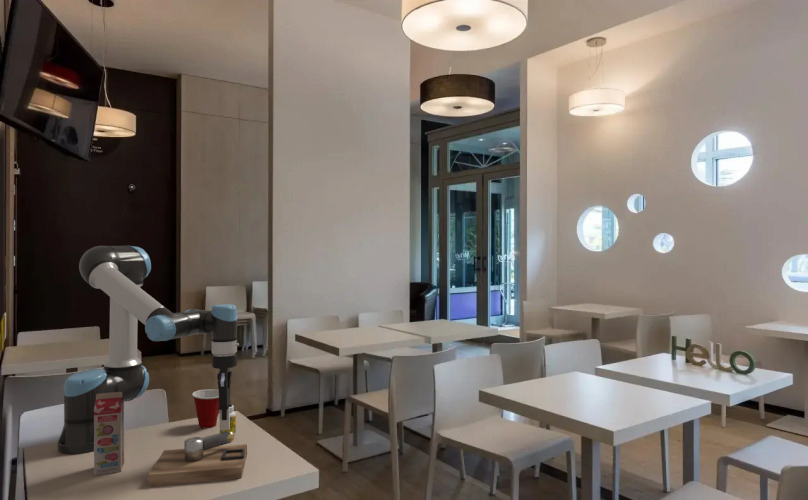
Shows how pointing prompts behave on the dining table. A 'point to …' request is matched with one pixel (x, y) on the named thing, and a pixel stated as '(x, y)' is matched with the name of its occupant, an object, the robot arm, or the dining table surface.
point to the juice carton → (108, 433)
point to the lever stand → (199, 466)
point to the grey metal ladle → (205, 444)
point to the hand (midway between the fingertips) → (224, 429)
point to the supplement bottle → (231, 421)
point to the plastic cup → (207, 407)
